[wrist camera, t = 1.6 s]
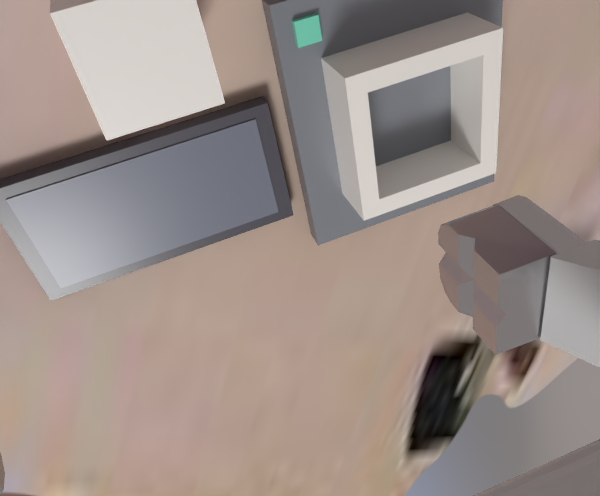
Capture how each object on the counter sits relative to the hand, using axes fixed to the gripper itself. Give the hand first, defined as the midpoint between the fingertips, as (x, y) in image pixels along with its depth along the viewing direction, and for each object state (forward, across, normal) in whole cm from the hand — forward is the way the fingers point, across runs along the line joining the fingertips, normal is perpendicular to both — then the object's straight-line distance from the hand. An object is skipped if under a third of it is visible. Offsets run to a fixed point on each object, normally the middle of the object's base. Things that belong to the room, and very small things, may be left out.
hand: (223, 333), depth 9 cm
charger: (+20, 0, -1) cm, 20 cm away
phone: (+20, +2, +8) cm, 22 cm away
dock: (+20, -12, +7) cm, 25 cm away
